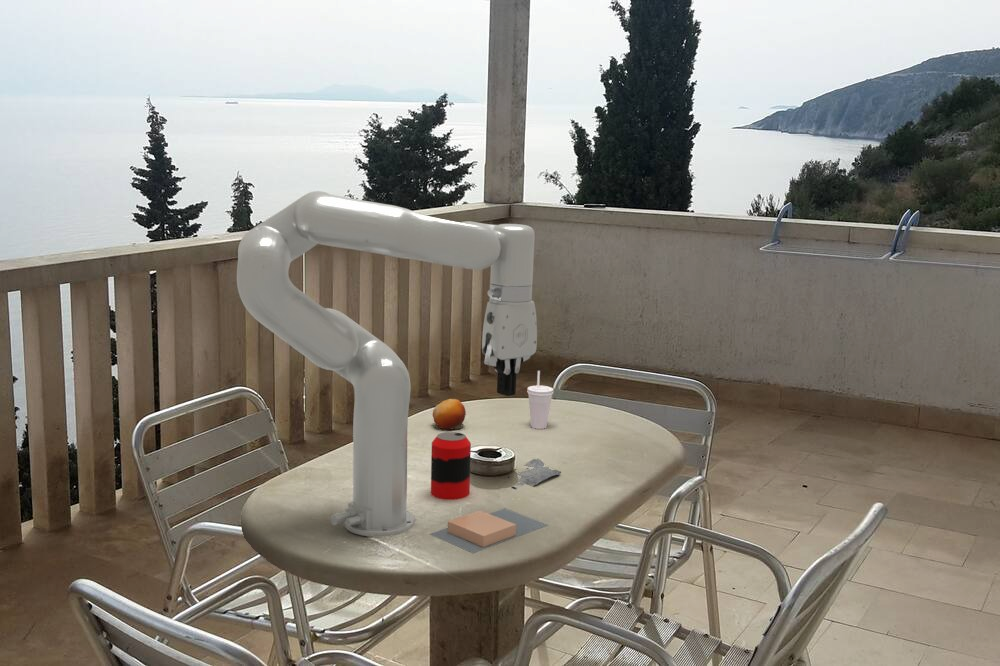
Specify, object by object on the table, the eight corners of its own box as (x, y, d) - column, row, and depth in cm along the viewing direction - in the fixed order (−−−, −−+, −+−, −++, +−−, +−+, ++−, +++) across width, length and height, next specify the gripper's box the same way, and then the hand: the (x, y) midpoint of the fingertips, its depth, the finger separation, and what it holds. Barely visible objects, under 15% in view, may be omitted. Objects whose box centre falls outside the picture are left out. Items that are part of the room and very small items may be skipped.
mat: (472, 555, 169) (473, 553, 169) (429, 536, 177) (429, 533, 176) (548, 527, 182) (548, 524, 182) (504, 510, 190) (504, 508, 190)
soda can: (477, 496, 197) (479, 437, 195) (448, 504, 192) (450, 444, 190) (451, 485, 203) (452, 428, 200) (422, 494, 197) (423, 435, 195)
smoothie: (527, 422, 250) (529, 367, 247) (553, 424, 249) (555, 369, 246) (524, 429, 244) (526, 373, 241) (550, 431, 243) (553, 374, 240)
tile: (515, 535, 177) (483, 547, 171) (479, 521, 183) (447, 532, 177) (516, 524, 177) (483, 536, 171) (480, 510, 183) (447, 521, 177)
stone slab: (532, 457, 220) (571, 464, 214) (532, 465, 220) (571, 472, 214) (482, 480, 205) (523, 488, 199) (482, 489, 206) (523, 497, 200)
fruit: (472, 426, 240) (455, 398, 238) (443, 442, 240) (426, 414, 239) (473, 417, 248) (457, 389, 246) (446, 432, 248) (429, 405, 247)
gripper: (495, 300, 172) (491, 404, 175) (554, 293, 182) (549, 392, 185) (465, 294, 177) (461, 395, 180) (524, 288, 187) (519, 384, 191)
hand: (506, 393), depth 183 cm, fingers closed
